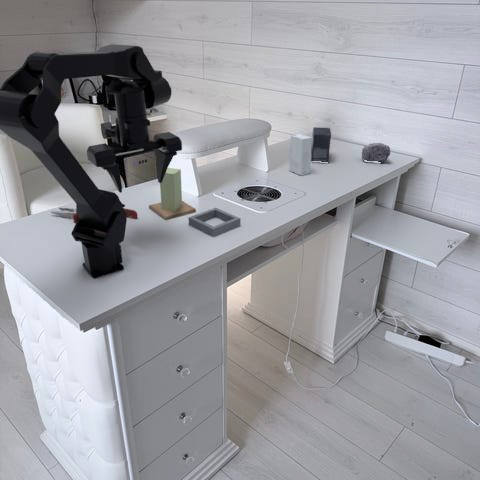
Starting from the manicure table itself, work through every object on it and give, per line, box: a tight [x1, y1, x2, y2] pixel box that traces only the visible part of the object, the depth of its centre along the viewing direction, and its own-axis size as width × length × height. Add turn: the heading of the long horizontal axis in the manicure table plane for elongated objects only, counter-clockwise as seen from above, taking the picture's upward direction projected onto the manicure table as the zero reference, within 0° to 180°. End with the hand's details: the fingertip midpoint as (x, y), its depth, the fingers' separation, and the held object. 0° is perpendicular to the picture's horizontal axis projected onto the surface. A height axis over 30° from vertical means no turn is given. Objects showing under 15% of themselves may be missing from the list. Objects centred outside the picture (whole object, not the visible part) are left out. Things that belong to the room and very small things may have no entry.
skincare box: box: [288, 133, 312, 176], centre depth 143 cm, size 6×4×12 cm
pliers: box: [50, 207, 138, 233], centre depth 109 cm, size 12×21×3 cm, turn 71°
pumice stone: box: [361, 142, 391, 163], centre depth 158 cm, size 10×8×10 cm
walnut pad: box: [148, 200, 197, 221], centre depth 116 cm, size 9×9×1 cm
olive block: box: [159, 167, 183, 211], centre depth 113 cm, size 4×4×10 cm
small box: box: [310, 127, 332, 163], centre depth 158 cm, size 11×6×10 cm, turn 172°
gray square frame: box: [188, 207, 241, 238], centre depth 108 cm, size 9×9×2 cm
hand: (140, 187), depth 95 cm, fingers open, 9 cm apart
